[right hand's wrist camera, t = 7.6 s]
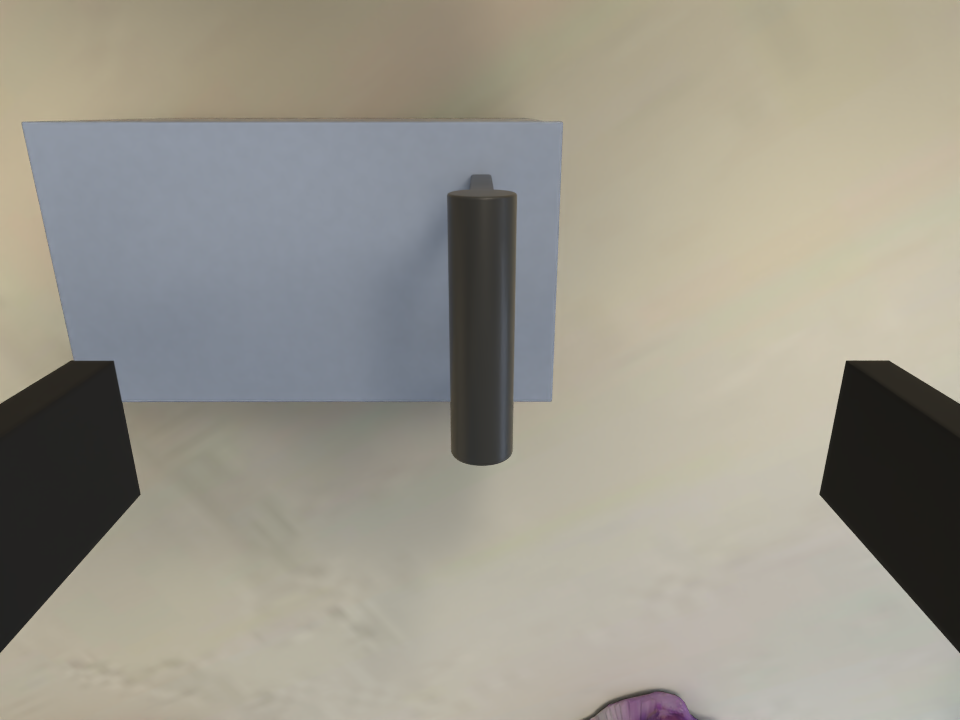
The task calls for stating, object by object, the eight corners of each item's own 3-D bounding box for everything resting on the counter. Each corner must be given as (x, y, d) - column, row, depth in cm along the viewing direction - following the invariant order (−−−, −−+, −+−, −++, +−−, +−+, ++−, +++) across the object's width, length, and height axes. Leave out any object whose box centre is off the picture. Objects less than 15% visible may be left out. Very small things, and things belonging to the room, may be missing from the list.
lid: (558, 121, 24) (603, 127, 15) (548, 389, 27) (580, 515, 19) (43, 121, 24) (-201, 126, 15) (99, 389, 27) (-73, 516, 19)
